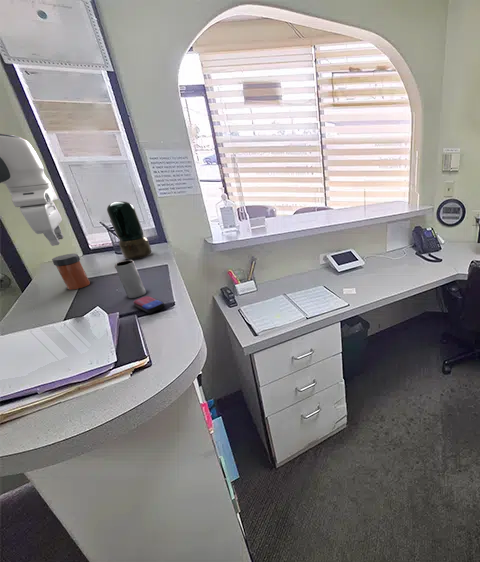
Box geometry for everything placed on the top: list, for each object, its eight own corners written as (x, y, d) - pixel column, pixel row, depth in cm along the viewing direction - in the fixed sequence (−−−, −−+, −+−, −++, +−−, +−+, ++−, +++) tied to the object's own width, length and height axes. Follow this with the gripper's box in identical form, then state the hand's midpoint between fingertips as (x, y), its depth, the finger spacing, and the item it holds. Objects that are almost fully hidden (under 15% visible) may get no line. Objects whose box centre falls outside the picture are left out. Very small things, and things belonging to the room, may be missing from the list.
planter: (148, 294, 93) (135, 262, 88) (130, 299, 89) (116, 267, 85) (143, 290, 95) (131, 258, 91) (126, 295, 92) (112, 263, 88)
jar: (66, 291, 97) (52, 262, 93) (68, 285, 101) (54, 258, 97) (89, 286, 100) (76, 258, 96) (90, 280, 104) (78, 253, 100)
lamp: (155, 251, 131) (136, 198, 122) (149, 258, 123) (128, 202, 114) (129, 254, 128) (108, 201, 119) (121, 262, 120) (97, 205, 111)
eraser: (132, 305, 86) (129, 300, 85) (148, 299, 89) (146, 294, 88) (150, 315, 80) (148, 309, 79) (167, 308, 83) (164, 302, 82)
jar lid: (53, 267, 93) (50, 261, 92) (56, 262, 98) (53, 256, 97) (79, 262, 96) (76, 256, 96) (81, 257, 101) (78, 252, 100)
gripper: (27, 193, 94) (49, 237, 100) (10, 201, 79) (37, 252, 85) (55, 190, 98) (75, 233, 104) (43, 198, 83) (67, 247, 89)
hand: (58, 241), depth 94 cm, fingers open, 7 cm apart
